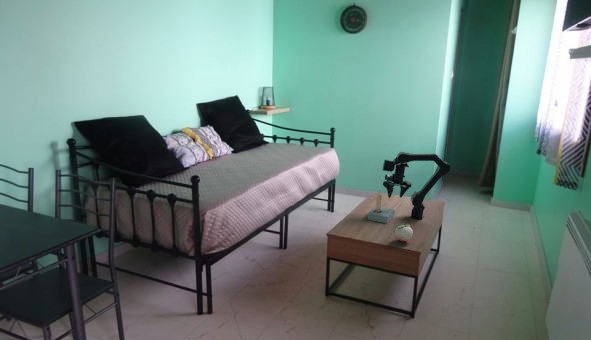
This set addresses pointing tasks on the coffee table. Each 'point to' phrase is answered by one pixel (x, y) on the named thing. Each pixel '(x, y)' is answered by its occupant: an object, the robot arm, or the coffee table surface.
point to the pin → (378, 203)
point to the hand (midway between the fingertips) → (394, 197)
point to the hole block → (381, 215)
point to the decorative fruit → (404, 232)
